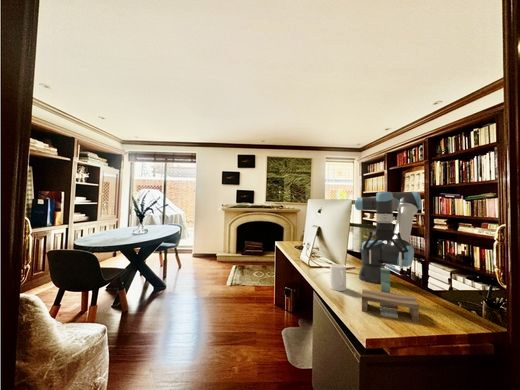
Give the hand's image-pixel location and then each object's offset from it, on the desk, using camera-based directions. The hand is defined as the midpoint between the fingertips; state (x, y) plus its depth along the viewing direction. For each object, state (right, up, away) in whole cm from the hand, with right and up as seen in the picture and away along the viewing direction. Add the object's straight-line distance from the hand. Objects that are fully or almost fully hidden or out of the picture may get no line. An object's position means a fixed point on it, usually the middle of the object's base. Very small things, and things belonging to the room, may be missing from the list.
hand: (385, 264), depth 122 cm
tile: (-11, -14, -24) cm, 29 cm away
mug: (-22, -15, +5) cm, 27 cm away
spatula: (-3, -14, -8) cm, 16 cm away
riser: (-10, -13, -21) cm, 27 cm away
